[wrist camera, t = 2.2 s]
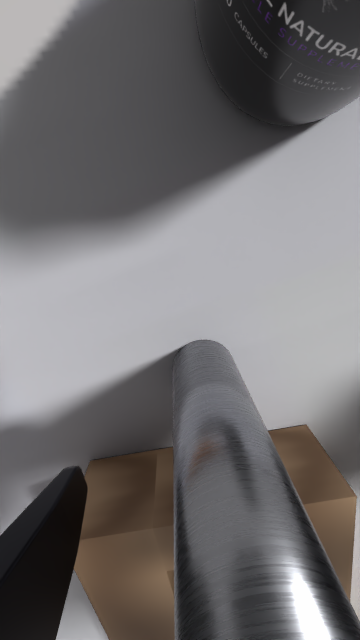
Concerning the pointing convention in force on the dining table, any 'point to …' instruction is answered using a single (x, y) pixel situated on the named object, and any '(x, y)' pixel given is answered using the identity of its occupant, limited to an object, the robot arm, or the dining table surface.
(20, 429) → the dining table surface
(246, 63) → the supplement bottle
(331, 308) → the dining table surface
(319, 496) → the peg board
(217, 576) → the peg
